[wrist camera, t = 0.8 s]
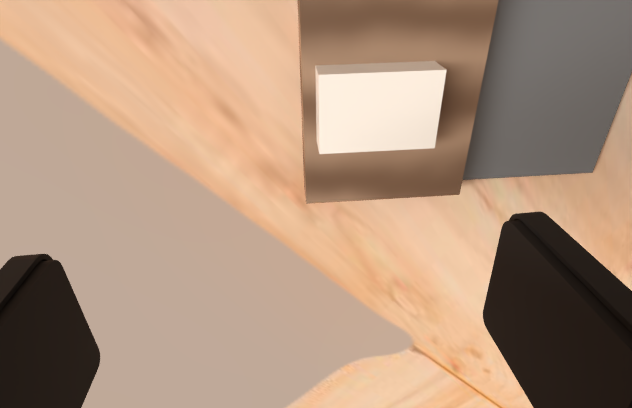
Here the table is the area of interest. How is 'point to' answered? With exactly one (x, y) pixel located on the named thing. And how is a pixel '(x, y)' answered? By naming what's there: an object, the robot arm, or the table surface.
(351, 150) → the ivory tile
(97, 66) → the table surface
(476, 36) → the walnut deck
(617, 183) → the table surface
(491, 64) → the charcoal mat
